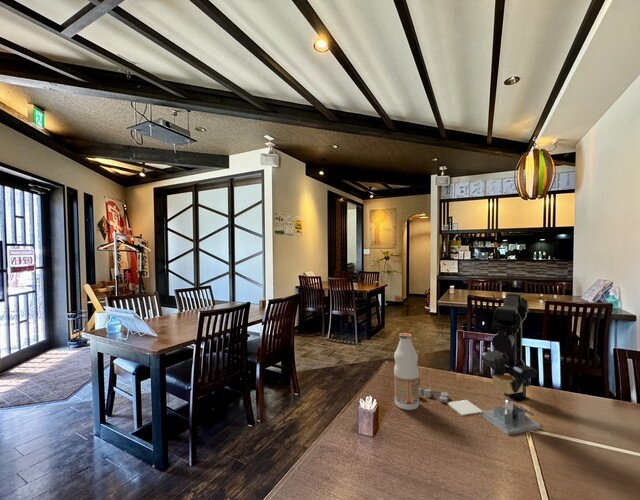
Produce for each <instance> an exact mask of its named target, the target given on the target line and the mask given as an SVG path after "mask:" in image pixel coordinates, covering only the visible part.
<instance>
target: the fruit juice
mask: <svg viewBox="0 0 640 500" xmlns="http://www.w3.org/2000/svg"><path fill="white" fill-rule="evenodd" d="M398 337H399V342H398V344H397V347H396V349H395V351H394V354H393V358H394V363H395V364H394V368H393V379H394V380H393V381H394V382H393V383H394V391H393V392H394V403H395V406H396V407H398V408H399V409H401V410H405V411H413V410H416V409H418V408H419V406H420V397H419V388H420V387H419V385H420V381H419V380H420V377H419V374H420V373H419V368H418V360H419V355H418V353H417V351H416V350H415V347H414V344H413V342H412V339H413V336H412V334H411V333H408V332H401V333H399V336H398Z"/></svg>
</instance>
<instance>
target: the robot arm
mask: <svg viewBox="0 0 640 500" xmlns="http://www.w3.org/2000/svg"><path fill="white" fill-rule="evenodd" d="M529 309H530V308H529V302H528V299H525V298H523V297H522V294H519V293H506V295H505V297H504V299H503V305H502V306H501V305H499V306H498V307H496V309H495V310H494V311H493V312H492V313H493V315H492V323H491V329H492V330H496V333H495V335H494V336H493V338H491V345H492V346H493V350H491V351H490V350H489V351H483V352H482V354H481V360H482V361H483V362H484V365H485V366H486V367H489V368H490V369H492V371H493V373H494V375H497V374H505V373H508V374H509V375H510V376H511V377H512V379H513V391H514V393H512V394H506V393H504V392H503V395H504V396H506V397H508V399H509V398H510V400H511V399H512V401H515V402H522V401H528V400H530V398H529V397H528V396H527V387H529V386H530V387H531V386H532V385H531V384H532V383H531V379H535V378H538V374H537V373H538V371H537V370H536V369H535V368H534V367H532V366H529V365H527V364H526V363H525V362H524V360H523V322H524V321H525V320H526V319H527V314H529V311H530V310H529ZM522 383H523V392H519V393H517V392H518V390H519V388H520V387H521V385H522Z"/></svg>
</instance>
